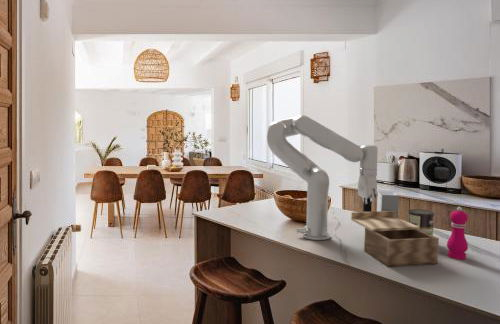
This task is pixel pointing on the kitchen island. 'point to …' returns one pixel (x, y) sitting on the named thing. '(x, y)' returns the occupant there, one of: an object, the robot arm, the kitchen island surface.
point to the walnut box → (401, 247)
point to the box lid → (381, 221)
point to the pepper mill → (458, 235)
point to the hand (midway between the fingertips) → (367, 212)
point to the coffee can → (422, 220)
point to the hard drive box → (387, 201)
